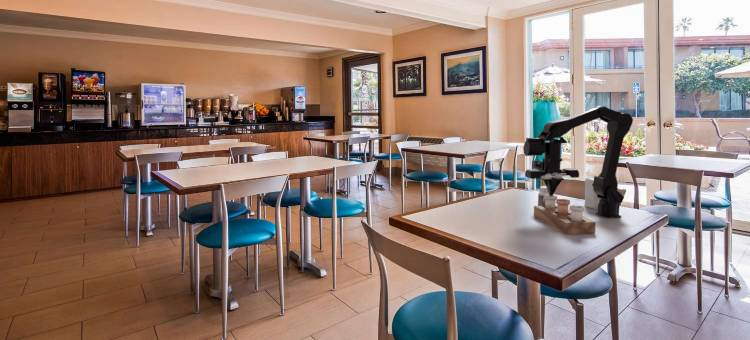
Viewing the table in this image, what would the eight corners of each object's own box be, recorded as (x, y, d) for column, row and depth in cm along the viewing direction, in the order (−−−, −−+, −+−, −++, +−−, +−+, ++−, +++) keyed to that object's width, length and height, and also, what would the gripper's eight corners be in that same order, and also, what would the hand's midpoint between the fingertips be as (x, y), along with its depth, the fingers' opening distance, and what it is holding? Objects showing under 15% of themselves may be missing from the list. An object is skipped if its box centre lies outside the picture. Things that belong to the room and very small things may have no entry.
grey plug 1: (553, 209, 162) (553, 194, 161) (558, 212, 158) (559, 196, 157) (541, 209, 162) (542, 194, 161) (547, 212, 158) (547, 197, 157)
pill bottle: (554, 212, 168) (555, 188, 166) (539, 212, 169) (540, 188, 167) (550, 209, 173) (551, 185, 172) (536, 208, 174) (537, 185, 173)
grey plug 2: (579, 221, 144) (580, 204, 143) (586, 225, 139) (587, 207, 138) (566, 221, 143) (567, 204, 142) (573, 225, 139) (573, 208, 138)
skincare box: (603, 208, 172) (604, 179, 171) (593, 209, 171) (595, 180, 170) (592, 205, 178) (593, 177, 177) (583, 206, 177) (584, 178, 176)
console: (558, 214, 164) (559, 205, 163) (595, 233, 139) (595, 221, 138) (533, 215, 163) (534, 205, 162) (565, 234, 138) (566, 222, 138)
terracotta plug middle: (565, 214, 153) (566, 198, 152) (571, 217, 148) (572, 201, 148) (553, 215, 153) (553, 199, 152) (559, 218, 148) (560, 201, 147)
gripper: (565, 152, 165) (564, 191, 168) (519, 153, 164) (518, 192, 167) (581, 155, 154) (578, 196, 156) (531, 156, 153) (530, 198, 156)
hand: (550, 195), depth 159 cm, fingers closed, pressing on grey plug 1
